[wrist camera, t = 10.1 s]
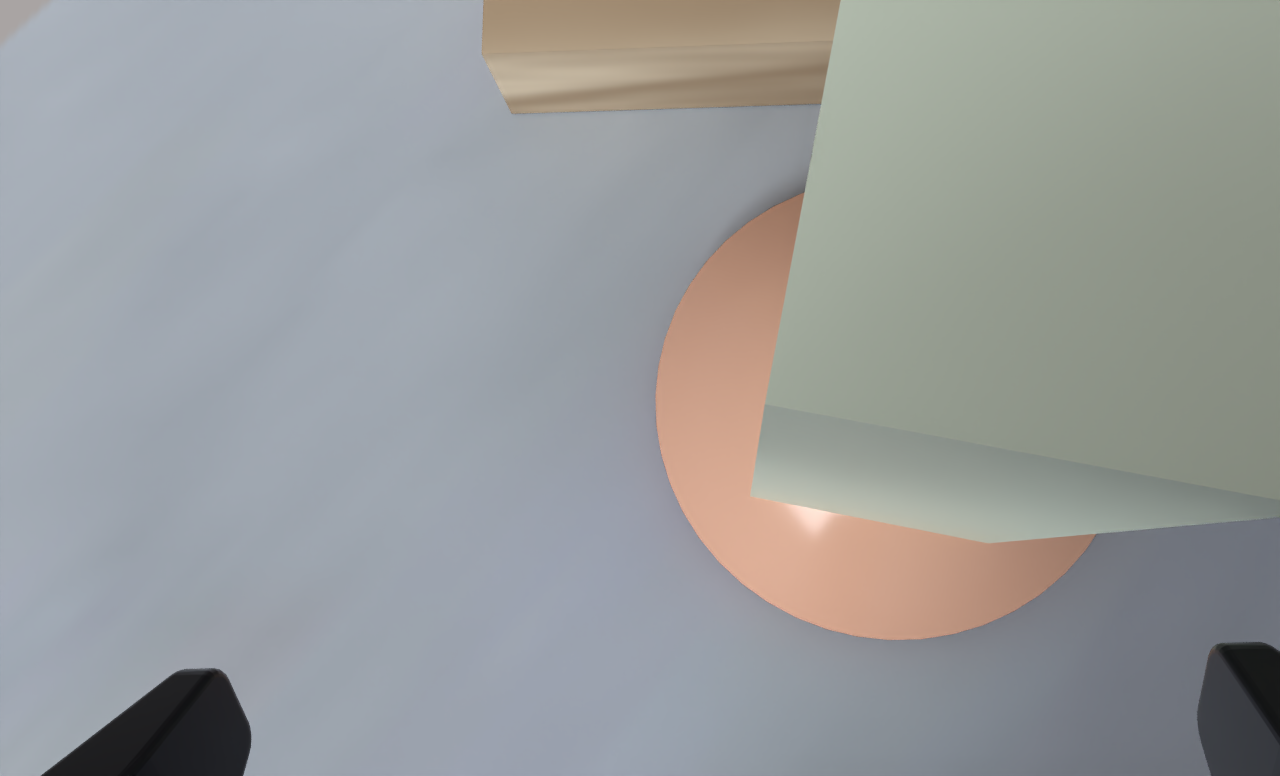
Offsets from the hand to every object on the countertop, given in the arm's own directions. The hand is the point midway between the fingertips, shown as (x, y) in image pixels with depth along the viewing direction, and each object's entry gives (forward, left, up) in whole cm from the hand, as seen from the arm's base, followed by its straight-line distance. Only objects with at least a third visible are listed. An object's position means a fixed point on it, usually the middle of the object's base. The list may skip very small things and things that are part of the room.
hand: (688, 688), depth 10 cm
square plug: (0, -6, -13) cm, 14 cm away
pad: (0, -6, -13) cm, 15 cm away
